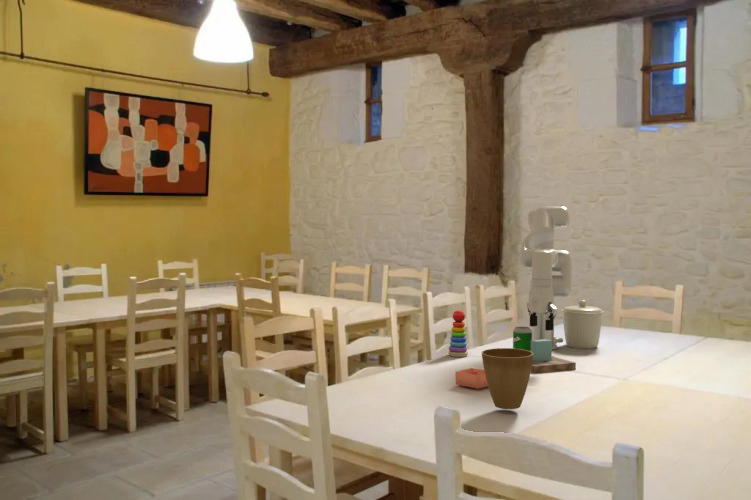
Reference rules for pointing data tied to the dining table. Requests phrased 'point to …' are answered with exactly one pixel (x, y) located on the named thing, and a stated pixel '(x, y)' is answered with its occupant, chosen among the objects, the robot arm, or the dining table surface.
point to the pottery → (471, 378)
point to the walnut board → (552, 365)
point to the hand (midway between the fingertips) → (541, 328)
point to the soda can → (522, 338)
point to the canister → (582, 325)
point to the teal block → (541, 350)
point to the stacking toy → (458, 336)
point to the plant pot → (507, 375)
